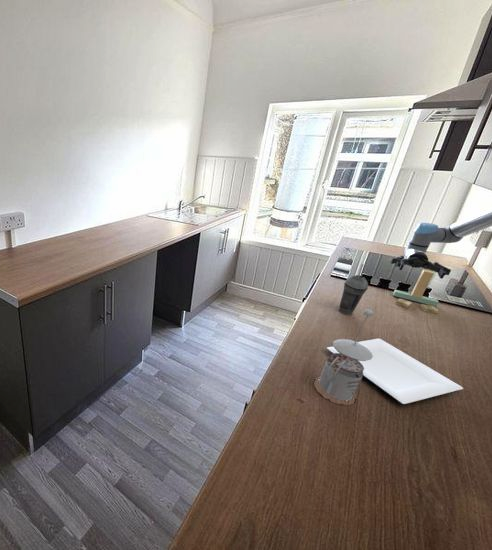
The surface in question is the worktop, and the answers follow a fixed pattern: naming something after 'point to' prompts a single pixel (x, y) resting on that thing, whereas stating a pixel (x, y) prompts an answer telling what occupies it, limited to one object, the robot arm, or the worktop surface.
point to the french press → (345, 367)
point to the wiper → (419, 290)
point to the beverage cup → (352, 293)
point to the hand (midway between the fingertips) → (421, 271)
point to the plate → (402, 373)
